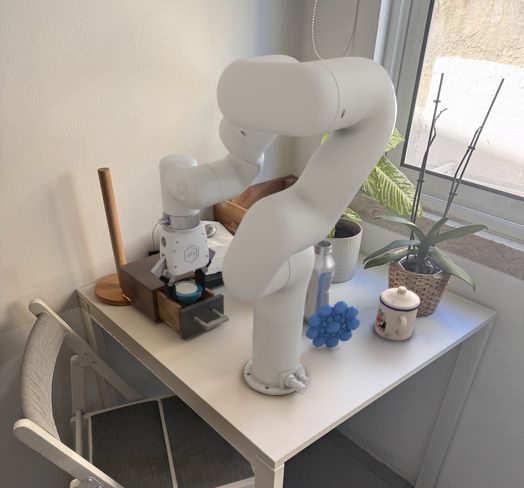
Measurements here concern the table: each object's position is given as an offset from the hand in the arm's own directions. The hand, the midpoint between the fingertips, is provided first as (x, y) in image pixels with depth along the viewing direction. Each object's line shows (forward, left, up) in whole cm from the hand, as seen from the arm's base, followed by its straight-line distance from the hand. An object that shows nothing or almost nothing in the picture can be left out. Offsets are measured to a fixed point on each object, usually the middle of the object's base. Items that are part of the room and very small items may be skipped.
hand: (186, 292), depth 116 cm
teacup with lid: (-35, -34, -8) cm, 49 cm away
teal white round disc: (0, 0, -2) cm, 2 cm away
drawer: (-2, 0, -7) cm, 8 cm away
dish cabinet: (+12, 0, -8) cm, 14 cm away
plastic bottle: (-19, -24, -8) cm, 32 cm away
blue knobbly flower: (-28, -19, -8) cm, 35 cm away
